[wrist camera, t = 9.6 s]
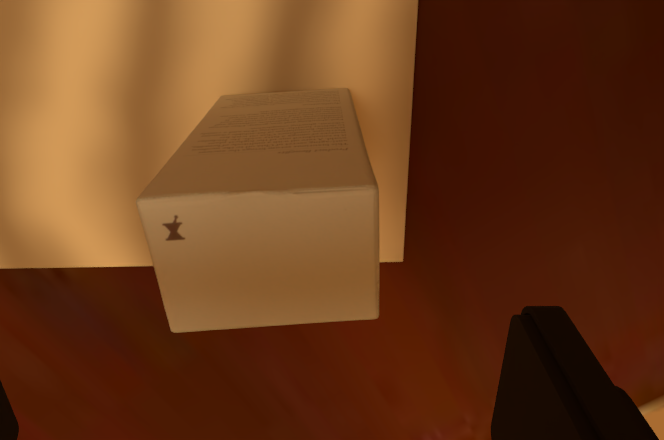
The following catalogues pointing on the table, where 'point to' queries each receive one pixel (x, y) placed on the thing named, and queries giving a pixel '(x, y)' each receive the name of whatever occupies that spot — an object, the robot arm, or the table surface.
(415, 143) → the table surface
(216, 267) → the skincare box
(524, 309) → the robot arm
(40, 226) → the board
